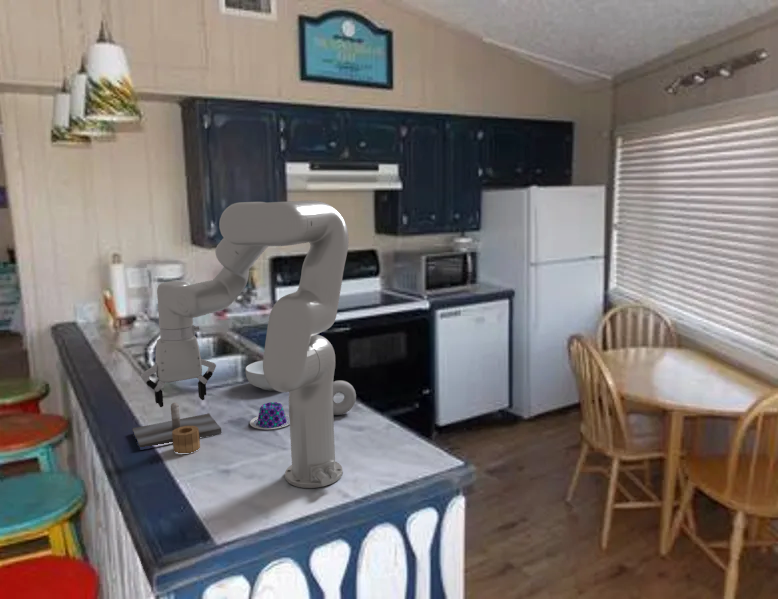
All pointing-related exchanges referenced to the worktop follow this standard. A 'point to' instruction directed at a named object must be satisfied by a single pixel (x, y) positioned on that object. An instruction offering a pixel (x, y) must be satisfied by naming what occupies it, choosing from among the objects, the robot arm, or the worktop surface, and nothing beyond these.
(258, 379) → the cereal bowl
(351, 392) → the donut
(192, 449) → the bead
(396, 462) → the worktop surface
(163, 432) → the needle stand
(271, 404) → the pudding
